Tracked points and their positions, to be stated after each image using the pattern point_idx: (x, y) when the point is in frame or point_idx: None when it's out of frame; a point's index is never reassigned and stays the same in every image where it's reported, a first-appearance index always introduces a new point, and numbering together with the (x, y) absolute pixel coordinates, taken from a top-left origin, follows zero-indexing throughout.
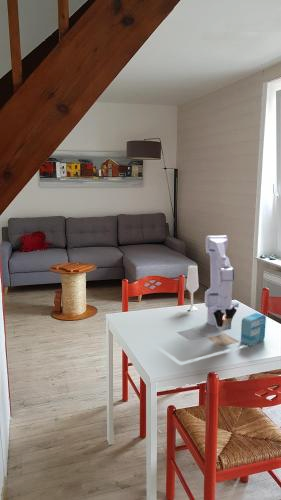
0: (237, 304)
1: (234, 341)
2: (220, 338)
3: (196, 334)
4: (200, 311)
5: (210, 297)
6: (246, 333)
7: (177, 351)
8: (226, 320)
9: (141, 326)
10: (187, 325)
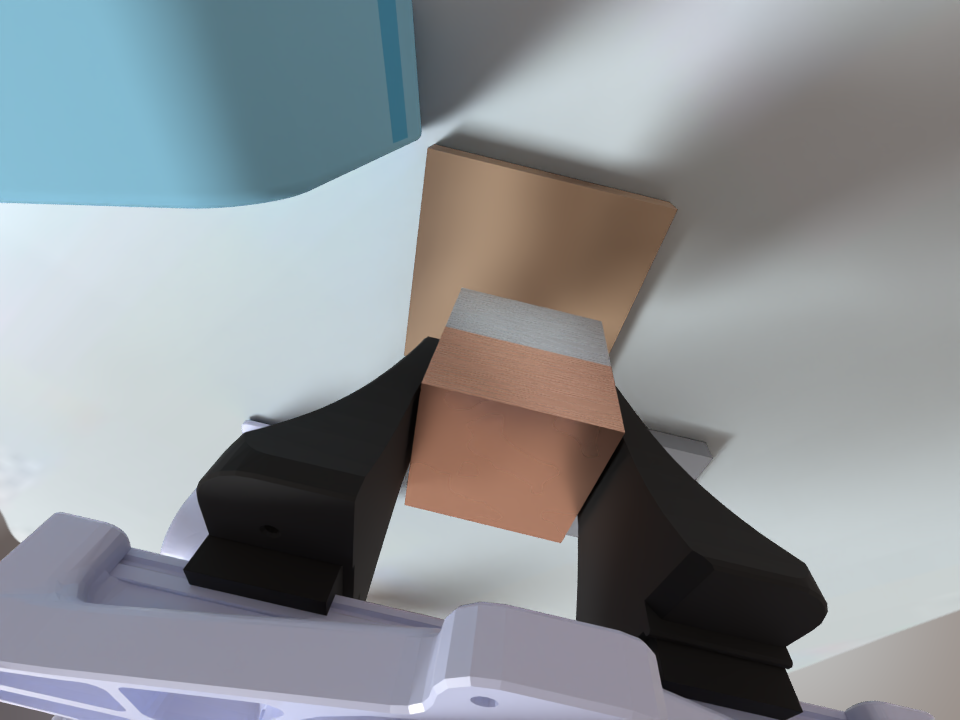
0: (8, 616)
1: (472, 190)
2: None
3: None
4: None
5: None
6: (370, 32)
7: (933, 423)
8: (548, 395)
9: None
10: (468, 551)
